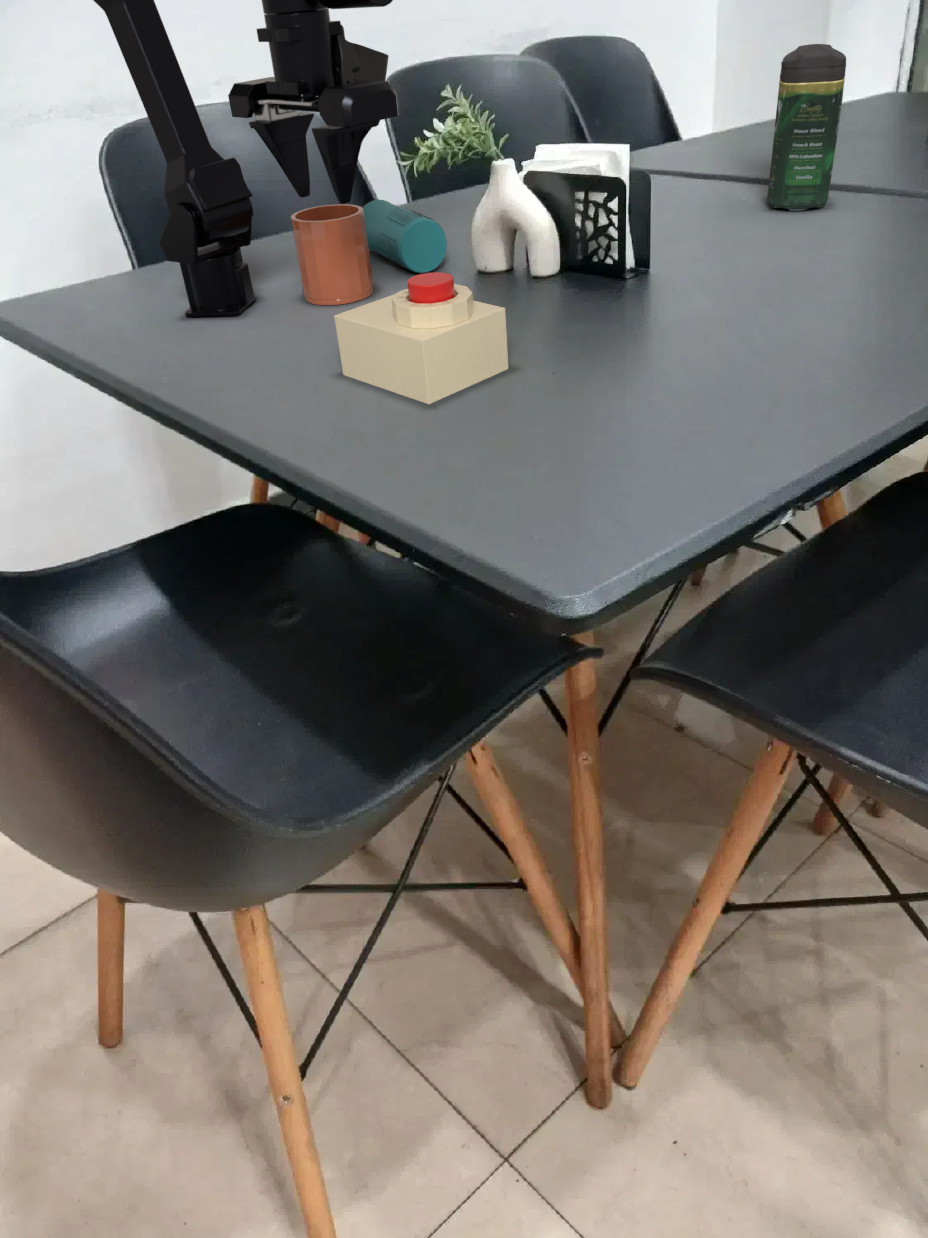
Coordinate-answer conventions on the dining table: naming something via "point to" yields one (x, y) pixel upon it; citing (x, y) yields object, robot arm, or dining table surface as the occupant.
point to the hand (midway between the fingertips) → (324, 199)
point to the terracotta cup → (333, 254)
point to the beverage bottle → (404, 236)
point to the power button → (431, 288)
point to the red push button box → (423, 344)
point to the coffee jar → (806, 127)
